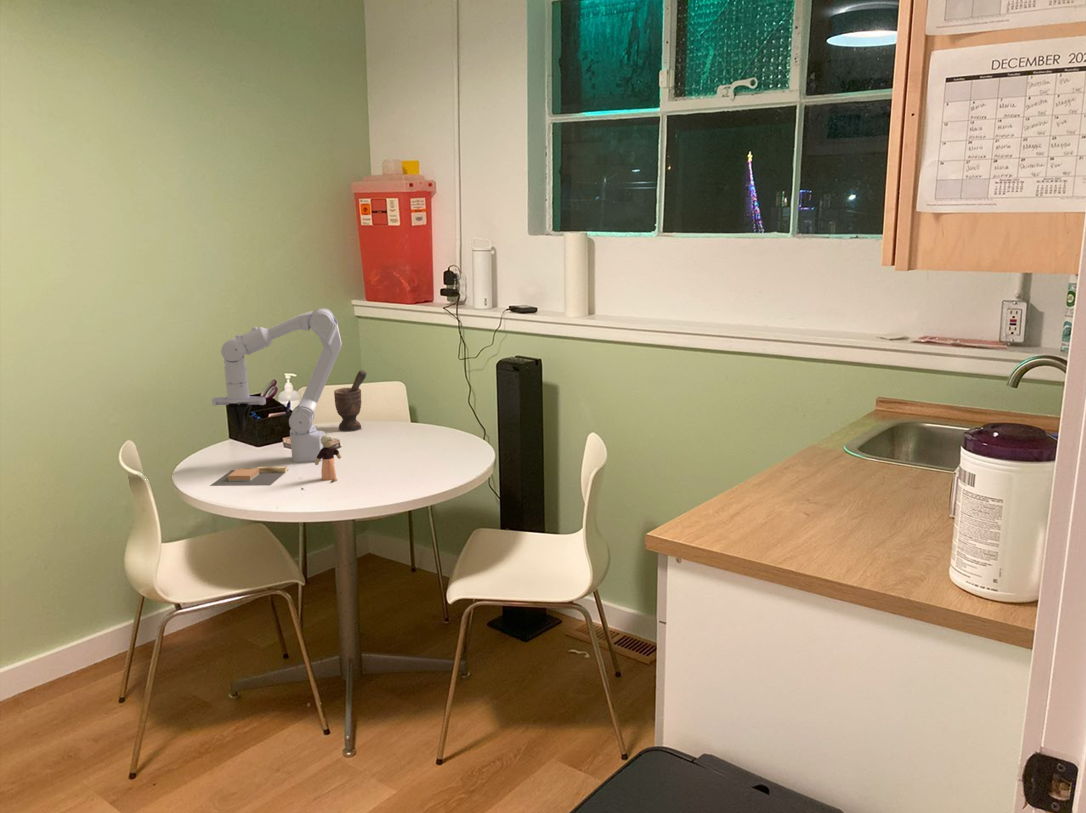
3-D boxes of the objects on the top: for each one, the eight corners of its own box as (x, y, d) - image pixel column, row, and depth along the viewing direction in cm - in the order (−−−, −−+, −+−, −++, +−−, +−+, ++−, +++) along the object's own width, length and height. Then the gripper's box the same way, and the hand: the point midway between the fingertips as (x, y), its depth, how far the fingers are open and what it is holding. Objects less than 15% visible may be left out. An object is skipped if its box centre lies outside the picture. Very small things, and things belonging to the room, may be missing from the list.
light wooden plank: (288, 469, 238) (288, 465, 237) (284, 473, 235) (284, 468, 234) (238, 470, 238) (237, 466, 238) (234, 473, 235) (233, 469, 235)
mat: (289, 472, 238) (288, 469, 238) (270, 488, 224) (270, 485, 224) (232, 472, 239) (231, 470, 239) (210, 488, 225) (209, 485, 225)
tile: (258, 469, 234) (236, 469, 234) (250, 475, 228) (227, 475, 229) (259, 474, 234) (237, 474, 235) (250, 480, 228) (228, 480, 229)
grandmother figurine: (325, 485, 225) (321, 438, 222) (314, 483, 227) (310, 436, 224) (346, 478, 231) (342, 431, 229) (335, 476, 234) (332, 430, 231)
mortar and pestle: (375, 425, 289) (371, 366, 285) (368, 432, 281) (364, 371, 277) (341, 426, 290) (336, 367, 286) (333, 432, 282) (328, 371, 277)
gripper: (205, 385, 237) (210, 433, 240) (257, 384, 236) (261, 433, 239) (216, 380, 244) (221, 427, 247) (266, 379, 243) (271, 427, 246)
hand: (241, 429), depth 243 cm, fingers closed
